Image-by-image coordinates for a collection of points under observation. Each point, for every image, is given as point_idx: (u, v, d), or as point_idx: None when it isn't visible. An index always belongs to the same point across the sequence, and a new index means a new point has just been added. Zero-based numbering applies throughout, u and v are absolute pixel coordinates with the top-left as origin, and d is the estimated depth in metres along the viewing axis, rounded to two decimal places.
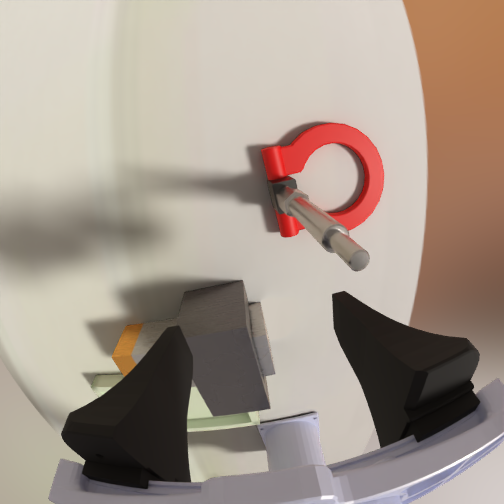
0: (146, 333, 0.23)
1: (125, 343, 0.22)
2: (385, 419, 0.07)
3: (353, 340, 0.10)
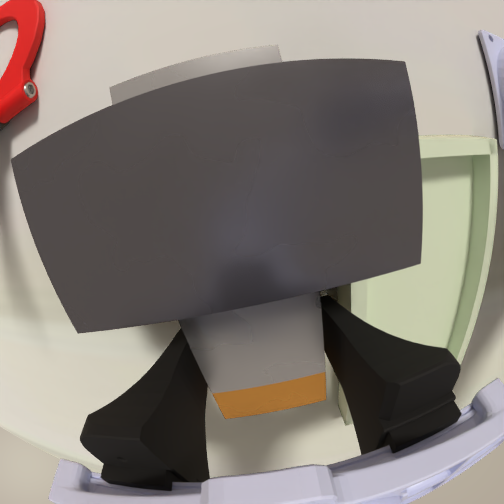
0: None
1: None
2: (364, 427, 0.07)
3: (334, 345, 0.10)
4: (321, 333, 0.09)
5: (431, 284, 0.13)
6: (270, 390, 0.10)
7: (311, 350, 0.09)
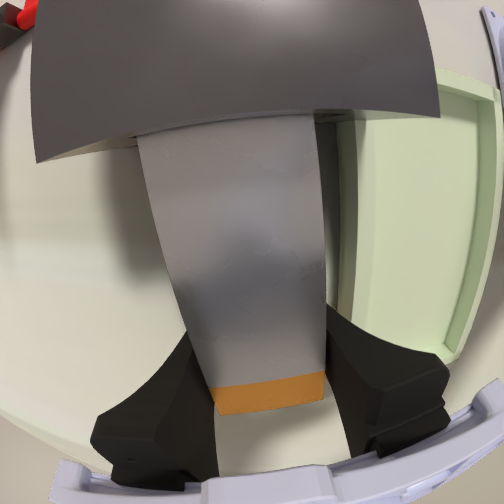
0: None
1: None
2: (352, 431, 0.07)
3: None
4: (324, 330, 0.09)
5: (440, 231, 0.12)
6: (268, 387, 0.10)
7: (313, 347, 0.09)
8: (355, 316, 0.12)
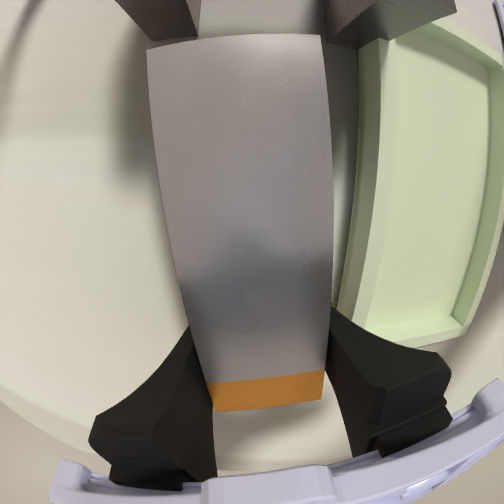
0: None
1: None
2: (354, 430, 0.07)
3: None
4: (327, 327, 0.09)
5: (454, 177, 0.11)
6: (266, 384, 0.10)
7: (314, 344, 0.09)
8: (372, 241, 0.11)
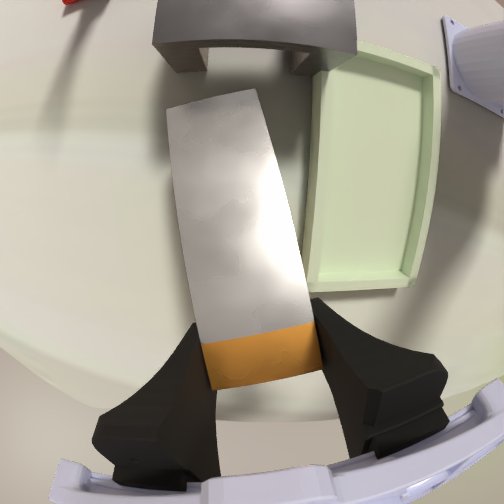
0: None
1: None
2: (351, 431, 0.07)
3: (323, 348, 0.10)
4: (301, 269, 0.11)
5: (387, 161, 0.17)
6: (259, 344, 0.10)
7: (295, 289, 0.11)
8: (318, 202, 0.17)
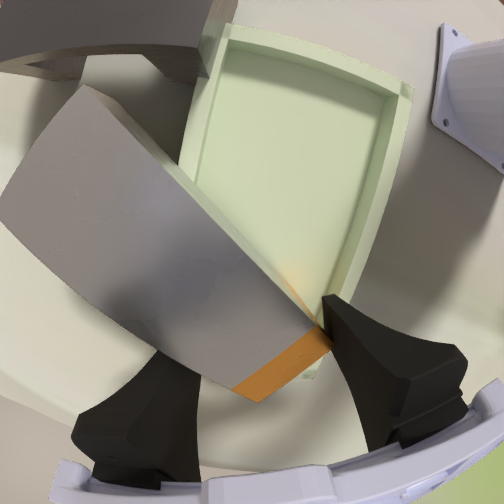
0: None
1: None
2: (372, 424, 0.07)
3: (341, 343, 0.10)
4: (286, 297, 0.09)
5: (296, 216, 0.14)
6: (277, 364, 0.11)
7: (288, 315, 0.10)
8: None
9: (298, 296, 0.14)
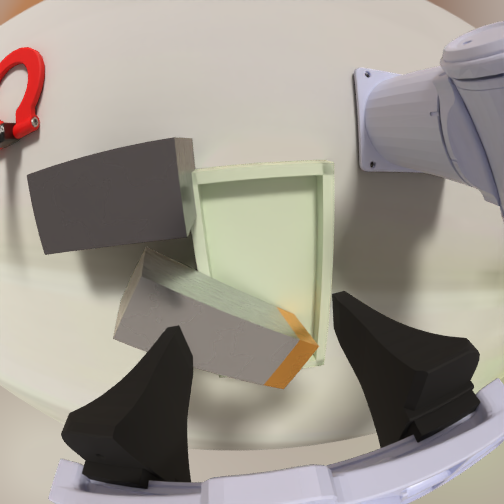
0: None
1: None
2: (385, 419, 0.07)
3: (353, 340, 0.10)
4: (276, 332, 0.17)
5: (278, 272, 0.21)
6: (285, 364, 0.19)
7: (280, 340, 0.18)
8: None
9: (294, 318, 0.22)
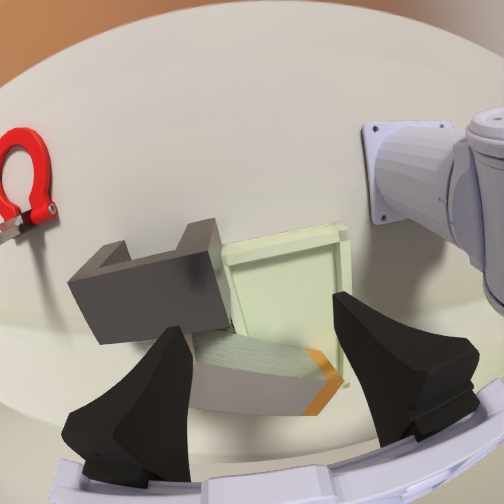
0: None
1: None
2: (385, 419, 0.07)
3: (353, 340, 0.10)
4: (308, 379, 0.19)
5: (305, 321, 0.23)
6: (317, 399, 0.21)
7: (312, 383, 0.20)
8: None
9: (321, 356, 0.24)
